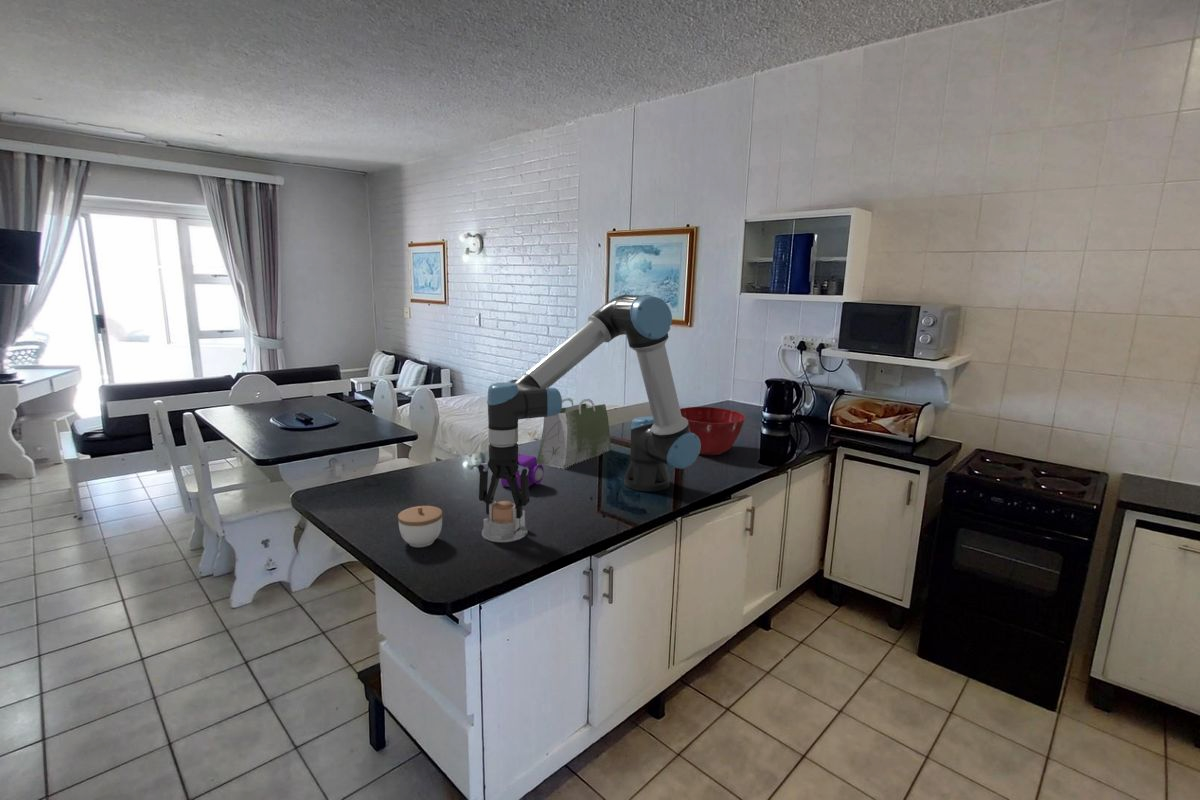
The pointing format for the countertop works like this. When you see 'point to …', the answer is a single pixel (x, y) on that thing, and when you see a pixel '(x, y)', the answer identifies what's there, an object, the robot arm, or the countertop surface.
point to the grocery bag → (574, 435)
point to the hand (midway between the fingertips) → (504, 527)
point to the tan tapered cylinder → (503, 511)
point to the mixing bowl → (714, 427)
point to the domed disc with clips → (503, 530)
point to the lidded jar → (420, 525)
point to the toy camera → (534, 472)
